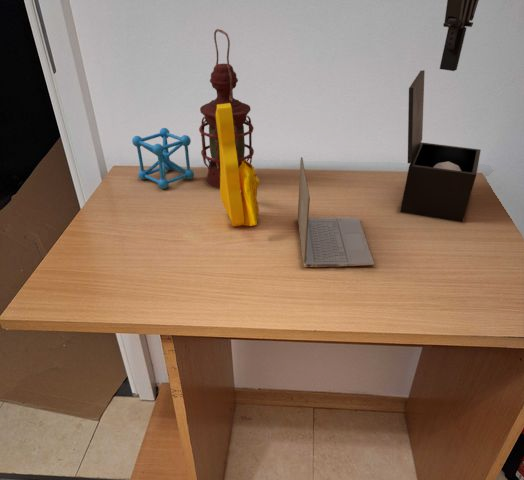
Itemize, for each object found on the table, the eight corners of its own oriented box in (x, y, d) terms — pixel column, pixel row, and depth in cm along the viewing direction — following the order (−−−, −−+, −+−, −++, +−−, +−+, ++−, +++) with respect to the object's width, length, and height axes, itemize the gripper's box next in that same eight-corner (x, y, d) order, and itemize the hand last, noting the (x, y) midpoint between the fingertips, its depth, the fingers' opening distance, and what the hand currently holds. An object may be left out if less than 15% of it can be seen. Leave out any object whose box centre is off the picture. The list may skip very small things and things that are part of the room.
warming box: (467, 194, 108) (480, 149, 102) (462, 222, 98) (476, 174, 92) (410, 185, 112) (419, 142, 105) (399, 212, 102) (409, 165, 95)
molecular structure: (163, 191, 110) (156, 146, 103) (137, 179, 115) (129, 136, 108) (196, 179, 115) (192, 135, 108) (170, 168, 120) (164, 125, 114)
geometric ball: (440, 214, 105) (446, 195, 97) (414, 191, 107) (418, 170, 100) (467, 191, 105) (475, 170, 97) (441, 168, 107) (447, 146, 99)
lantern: (263, 184, 112) (262, 32, 92) (214, 194, 108) (202, 37, 89) (242, 167, 121) (237, 23, 101) (196, 175, 117) (181, 27, 97)
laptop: (373, 267, 85) (386, 197, 77) (303, 268, 85) (307, 197, 77) (358, 220, 99) (367, 156, 90) (297, 221, 99) (300, 156, 90)
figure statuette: (266, 240, 93) (266, 118, 78) (225, 243, 92) (217, 120, 77) (254, 200, 106) (252, 90, 91) (218, 203, 105) (211, 91, 91)
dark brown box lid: (424, 70, 97) (420, 70, 97) (413, 87, 86) (408, 88, 87) (422, 139, 105) (418, 140, 105) (411, 163, 95) (407, 163, 95)
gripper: (477, -105, 79) (442, 60, 95) (447, -108, 71) (414, 73, 87) (525, -106, 75) (480, 65, 91) (499, -109, 68) (454, 79, 83)
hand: (448, 69), depth 89 cm, fingers closed
